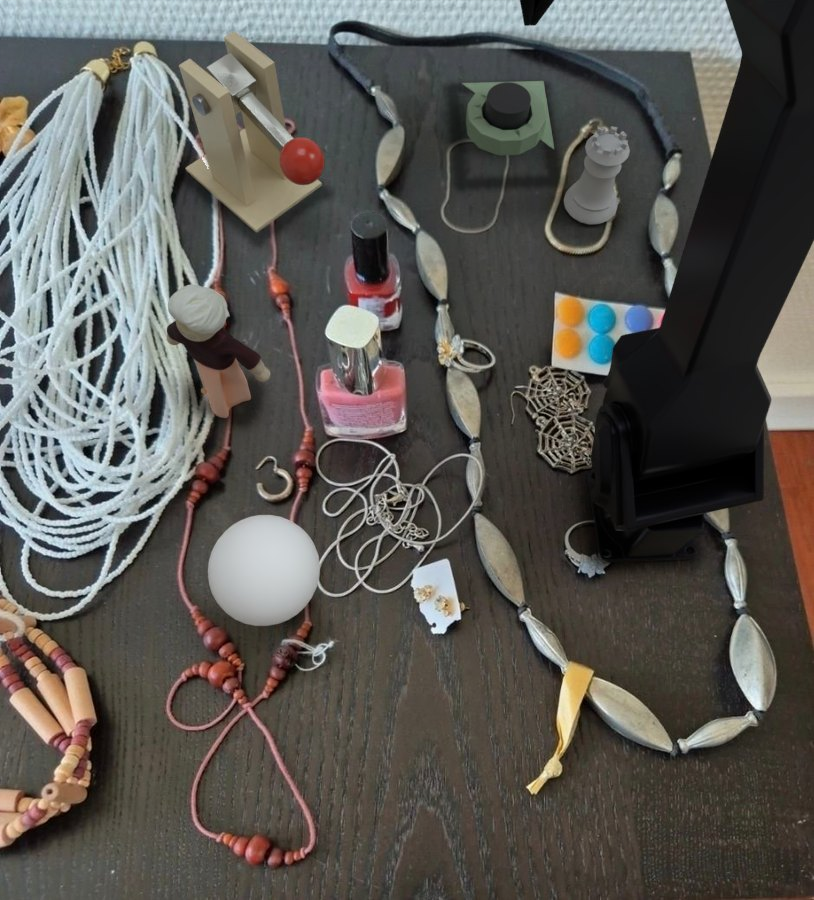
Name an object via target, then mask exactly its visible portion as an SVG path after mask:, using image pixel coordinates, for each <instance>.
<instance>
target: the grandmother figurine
mask: <svg viewBox="0 0 814 900" xmlns="http://www.w3.org/2000/svg"><path fill="white" fill-rule="evenodd" d="M167 311H168V314H169V315H170V316H171V317H172V319H174V321H172V322H171V323H169V324H168V326H167V327H166V341H167V343H168V344H170V345H172V346H178V345H179V344H181V345H183V347H184V349H185V351H186V352H187V353H188V354H189V355H190V356H191V358H192V359H193V361H194V363H195V366H196V368H197V371H198V374H199V378H200V382H201V383H202V385H203V387H202V388H200V393H201V394H203V395H206V396H207V398H208V403H209V406H210V409H211V411H212V413H213V414H214V415H215V416H216V417H218V418H222V419H227V418H229V416H230V410H231V408H233V407H235V406H237V405H240V404H241V403H243V402H248V401H250V400H251V399H252V395H251V391H250V388H249V382H248V379H247V378H246V376H245V373H244V371H243V369H242V368H241V366H242V367H244V368H245V369H246V370H247V371H249V372H250V373H251V374H252V375H254V378H255V380H257V381H258V382H259V383H266V382H268V381H269V380H270V379H271V371H270V369H269V368H268V367H266V366H265V363H264V362H263V361H262V357H261V355H260V354H259V353H258V352H257V351H256V350H254V349H252V348H251V347H249V346H247V345H245V344H244V343H243V342H242V341H240V340H238V339H237V338H235V337H234V336H233V335H232V334H231V333H230V332H229V331H228V330H226V328H225V327H224V326H225V324H226V321H227V319H228V318H229V317H231V315H230V312H229V310H228V303H227V300H226V299H225V297H224V296H223V295H222V294H220V293H218V292H217V291H216V290H215V289H214V288H211V287H206V286H201V285H199V284H196V283H195V284H194V283H193V284H192V283H191V284H187V285H184V286H182V287H181V288H179V289H178V290H176V291H175V292H174V293H173V294H172V295H171V296H170V297H169V299H168V301H167ZM240 365H241V366H240Z"/></svg>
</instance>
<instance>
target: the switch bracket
mask: <svg viewBox="0 0 814 900" xmlns="http://www.w3.org/2000/svg"><path fill="white" fill-rule="evenodd" d="M223 39H224V40H223V41H224V44H225V49H226V52H227V54H228V53H230V52H231V53H232V54H233V56H234V57H235V58H236V59H237V60H238V61H239V62H240V63H241V64H242V65H243V66H244V67H245V69H246V70H247V71H248V72H249V73H250V74H251V75H252V76H253V77H254V78H255V79H256V98H257V99H258V100H259V101H260V102H261V103H262V104H263V105H264V106H265V107H266V108H267V110H268V111H269V112H270V113H271V114H272V115H273V116H274V117H275V118H276V119H277V120H278V121H279V123H280V124H281V125H282V126H283V127H284V128H285V129H286V130H287V127H286V121H285V115H284V110H283V103H282V98H281V93H280V86H279V82H278V76H277V75H278V74H277V69H276V64H275V61H274V60H272V59H271V58H270V57H269V56H268V55H266V54H265V53H264V52H263V51H261V50H260V49H258V48H257V47H256V46H255V45H253V44H252V43H251V42H249V40H247V39H246V38H244V37H243V36H242V35H240V34H239V33H238V32H236V31H235V30H233V31H232V32H230V33H228V34H227V35H225V36H224V37H223ZM178 68H179V71H180V74H181V77H182V81H183V84H184V87H185V90H186V94H187V97H188V101H189V104H190V108H191V111H192V113H193V118H194V122H195V124H196V127H197V130H198V134H199V137H200V140H201V144H202V148H203V150H204V153H205V154H204V155H203V156H205V157H206V160H207V162H208V164H209V167H208V168H209V169H207V166H206V165H205V163H204V162H203V160H202V156H201V157H199V158H198V159H196V160H195V161H193V162H192V163H191V164H189V165H187V166H186V167H185V171H186V172H187V173H188V174H190V176H191V177H192V178H194V179H195V180H196V181H197V182H198V183H199V184H200V185H201V186H202V187H204V188H205V189H206V190H207V191H208V192H209V193H210V194H211V195H213V196H214V197H215V198H216V199H217V200H218V201H219V202H220V203H222V204H223V205H224V206H225V207H226V208H227V209H229V210H230V211H231V212H232V213H233V214H234V215H235V216H236V217H238V218H239V219H240V220H241V221H242V222H243V224H246V226H248V228H249V229H251V230H252V231H253V232H254V233H258V232H260V231H261V230H263V229H264V228H265V227H267V226H268V225H270V224H271V223H272V222H274V221H275V220H276V219H278V218H279V217H281V216H282V215H283V214H285V213H286V212H287V211H289V210H291V209H292V208H293V207H295V206H296V205H297V204H298V203H300V202H302V201H303V200H304V199H306V198H307V197H308V196H310V195H311V194H312V193H314V192H315V191H317V190H318V189H320V187H322V186H323V183H322V182H321V181H320V180H319V178H318V179H317V180H316V181H315V182H313V183H311V184H308V185H298V184H295V183H292V182H291V181H289V180H288V179H287V178H286V177H285V176H284V174H283V173H282V171H281V168H280V164H279V157H280V151H279V150H278V149H277V148H276V147H275V146H274V145H273V144H272V143H271V142H270V140H269V139H268V138H267V137H266V136H265V135H264V134H263V133H262V132H261V131H260V130H259V128H258V127H257V126H256V125H255V124H254V123H253V122H252V121H251V120H250V119H249V118H248V116H247V115H246V114H245V113H244V112H243V111H242V112H240V114H241V116H242V122H243V125H244V128H243V129H241V130H240V128H239V124H238V121H237V115H236V116H235V111H234V107H233V103H232V99H231V95H230V91H229V90H228V89H226V88H225V87H224V86H223V85H222V84H220V83H219V82H218V81H217V80H215V79H214V78H213V77H212V76H211V75H209V74H208V73H207V72H206V70H205V69H204V68H202V67H201V66H200V65H199V64H197V63H196V62H195V61H194V60H192V59H191V58H187V59H186V60H185V61H183V62H181V63H180V64H179V65H178Z"/></svg>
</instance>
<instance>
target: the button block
mask: <svg viewBox="0 0 814 900" xmlns="http://www.w3.org/2000/svg"><path fill="white" fill-rule="evenodd" d="M504 82H505V81H490V82H485V81H484V82H483V81H482V82H461V85H463V86H464V87H466V88H467V89H468V90H470V91H472V92H473V93H474V95H473V96H472V97H471V99H470V100H469V102H468V103H467V105H466V115H465V125H466V127H465V128H466V134H467V137H468V139H470V140H471V141H472V142H473V143H474V144H475V146H476V147H477V148H478V149H480V150H483V151H485V152H487V153H489V154H493V155H496V156H499V157H500V156H519V155H522V154H524V153H526V152H527V151H530V150H532V149H534V148H536V147H537V145H538V143H539V142H540V141H541V142H543V143H544V144H546V145H547V146H548V147H549V148H551V149H552V150H555V144H554V138H553V132H552V124H551V118H550V113H549V108H548V107H549V106H548V99H547V95H546V89H545V82H544V80H526V81H510V82H511V83H516V84H519V85H521V86H523V87H524V88H525V89H527V91H528V92H529V94H530V97H531V103H530V108H529V114H528V118H527V121H526V122H525V124H524V125H523V126H521V127H520V128H517V129H514V130H501V129H499V128H496V127H494V126H492V125H491V124H490V123H489V122H488V121H487V119H486V118H484V117H485V108H486V100H487V94H488V92H489V90H490V89H491V88H492V87H493V86H495V85H497V84H499V83H504Z"/></svg>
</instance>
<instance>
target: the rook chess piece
mask: <svg viewBox="0 0 814 900" xmlns="http://www.w3.org/2000/svg"><path fill="white" fill-rule="evenodd" d="M606 129H607V128H606V127H605V126H602V127H599V128H597V132H594V133H593V135H591V136H590V137H589V138H588V139H587V140H586V143H585V145H584V148H585V153H586V156H585V157H584V160H583V165H584V170H583V171H582V174H581V175H580V178H579V179H578V180H577V181H575V183H573V184H571V186H570V187H569V188H568V189H567V191H565V194H564V198H563V206H564V209H565V210H566V212H567V213H568V214H569V216H570V217H572V218H573V219H574V220H576V221H577V222H579V223H581V224H584V225H589V226H591V225H601V224H603V223H605V222H607V221H610V220H611V219H612V218H613V217H614V216H615V215H616V213H617V210H618V206H619V201H618V198H617V194H616V190H615V183H616V176H617V175H618V174H619V173H620V172H621V170H622V166H623V165H622V164H623V163H624V162H625V161H626V160H627V159H628V158H629V156H630V152H631V149H630V145H629V143H628V142H629V140H628V139H627V137H628V134H627V133H626V132H625V131H624V130H622V131H621V132H620V133H617V131H618V126H613V125H610V127H609V130H606Z"/></svg>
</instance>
